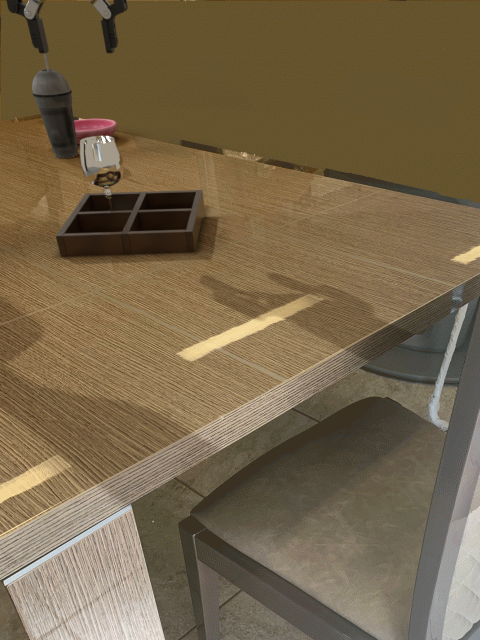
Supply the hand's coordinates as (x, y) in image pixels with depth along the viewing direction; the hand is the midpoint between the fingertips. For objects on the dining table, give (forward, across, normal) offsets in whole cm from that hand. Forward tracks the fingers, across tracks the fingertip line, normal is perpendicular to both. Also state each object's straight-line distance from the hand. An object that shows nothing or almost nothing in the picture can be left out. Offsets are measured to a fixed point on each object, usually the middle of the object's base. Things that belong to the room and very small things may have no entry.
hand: (77, 52), depth 84 cm
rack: (+23, +5, -5) cm, 24 cm away
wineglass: (+23, +1, -1) cm, 23 cm away
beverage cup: (+24, -17, +43) cm, 52 cm away
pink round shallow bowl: (+24, -15, +56) cm, 63 cm away
